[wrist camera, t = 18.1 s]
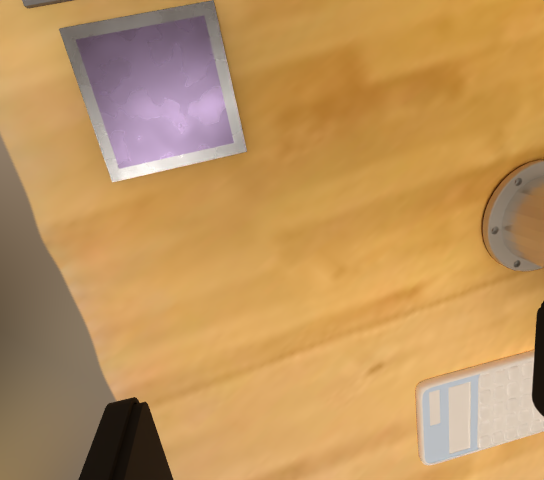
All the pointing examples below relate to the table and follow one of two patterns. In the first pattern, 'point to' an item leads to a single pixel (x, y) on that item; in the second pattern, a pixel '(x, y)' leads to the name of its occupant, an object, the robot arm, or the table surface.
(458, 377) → the calculator
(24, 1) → the marked board
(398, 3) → the table surface
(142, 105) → the ink pad
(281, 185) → the table surface
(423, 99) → the table surface
